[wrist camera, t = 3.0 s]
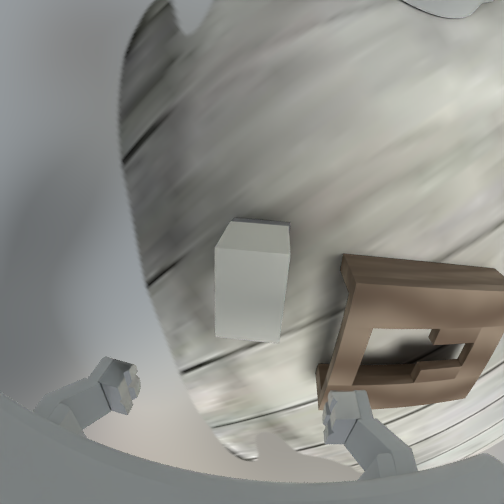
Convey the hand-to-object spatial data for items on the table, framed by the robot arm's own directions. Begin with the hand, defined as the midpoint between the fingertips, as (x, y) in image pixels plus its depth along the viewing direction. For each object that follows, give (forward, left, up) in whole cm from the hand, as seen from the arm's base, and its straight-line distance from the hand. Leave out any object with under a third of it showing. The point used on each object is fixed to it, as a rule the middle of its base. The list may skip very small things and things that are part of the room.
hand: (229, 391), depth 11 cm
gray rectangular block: (-1, 0, -15) cm, 15 cm away
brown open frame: (+6, +16, -15) cm, 23 cm away
